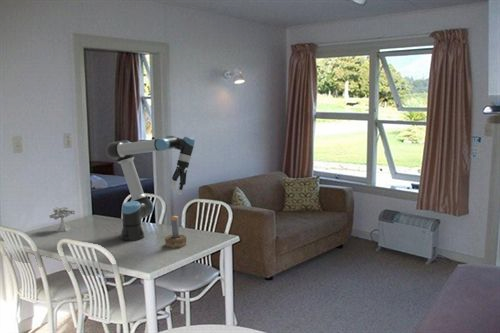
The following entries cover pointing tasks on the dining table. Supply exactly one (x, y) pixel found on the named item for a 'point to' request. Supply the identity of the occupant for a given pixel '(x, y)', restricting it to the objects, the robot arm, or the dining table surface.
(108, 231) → the dining table surface
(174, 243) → the brown ring
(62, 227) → the grey branching stemmed part
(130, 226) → the robot arm
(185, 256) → the dining table surface
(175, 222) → the grey upright bar
